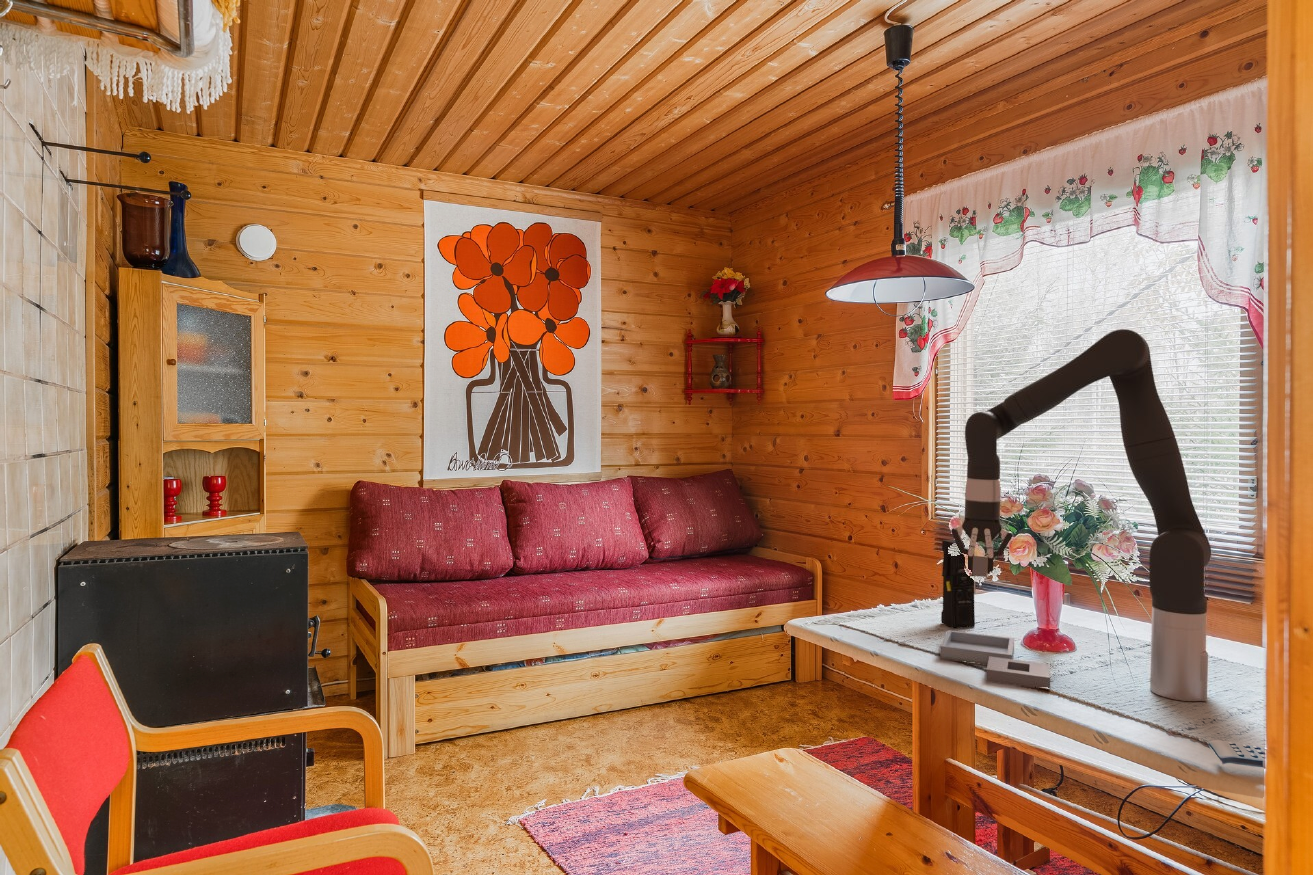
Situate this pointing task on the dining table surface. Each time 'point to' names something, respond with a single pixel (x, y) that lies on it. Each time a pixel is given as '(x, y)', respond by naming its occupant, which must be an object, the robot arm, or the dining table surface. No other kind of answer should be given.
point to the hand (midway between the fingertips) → (980, 572)
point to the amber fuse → (980, 566)
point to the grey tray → (975, 647)
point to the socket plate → (1018, 672)
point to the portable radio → (956, 591)
